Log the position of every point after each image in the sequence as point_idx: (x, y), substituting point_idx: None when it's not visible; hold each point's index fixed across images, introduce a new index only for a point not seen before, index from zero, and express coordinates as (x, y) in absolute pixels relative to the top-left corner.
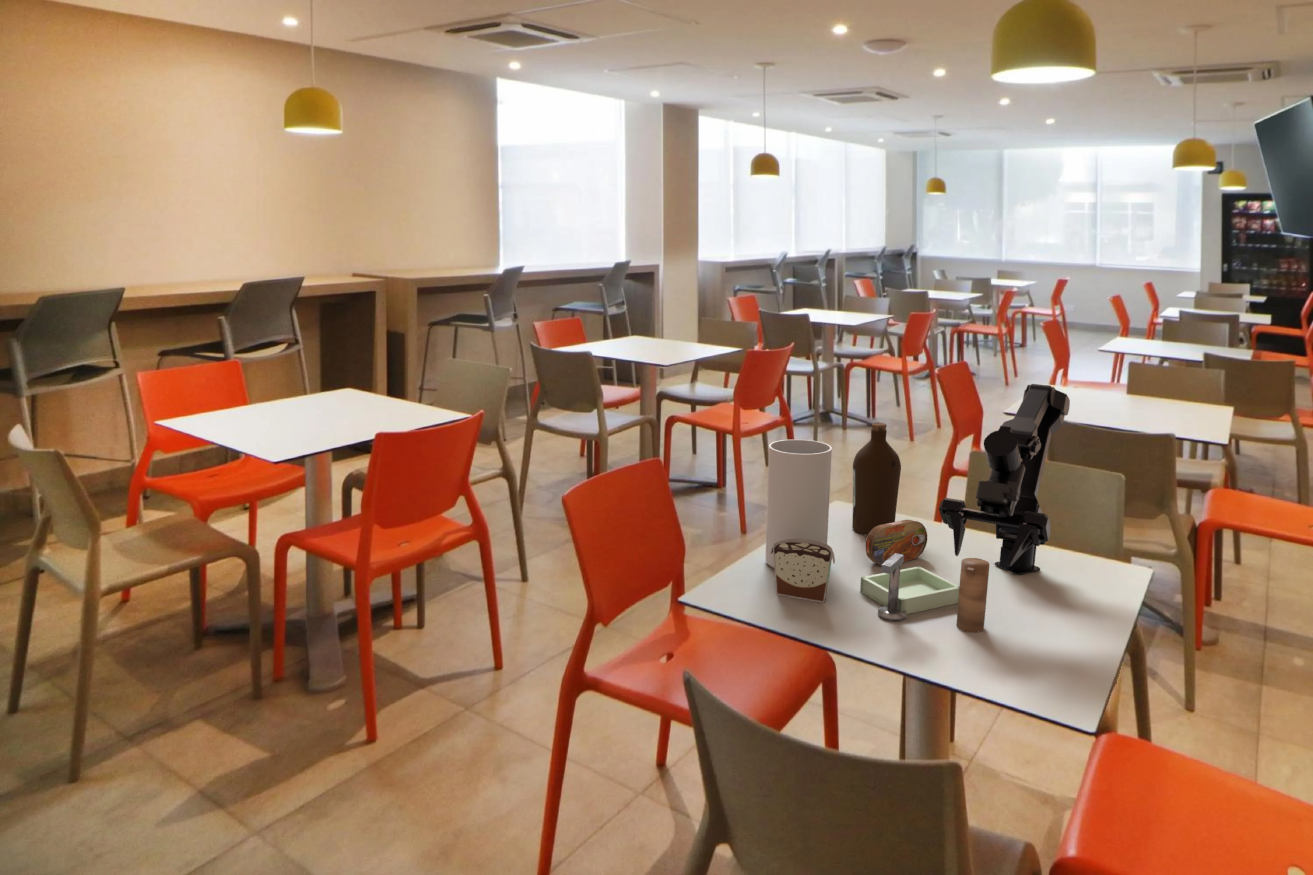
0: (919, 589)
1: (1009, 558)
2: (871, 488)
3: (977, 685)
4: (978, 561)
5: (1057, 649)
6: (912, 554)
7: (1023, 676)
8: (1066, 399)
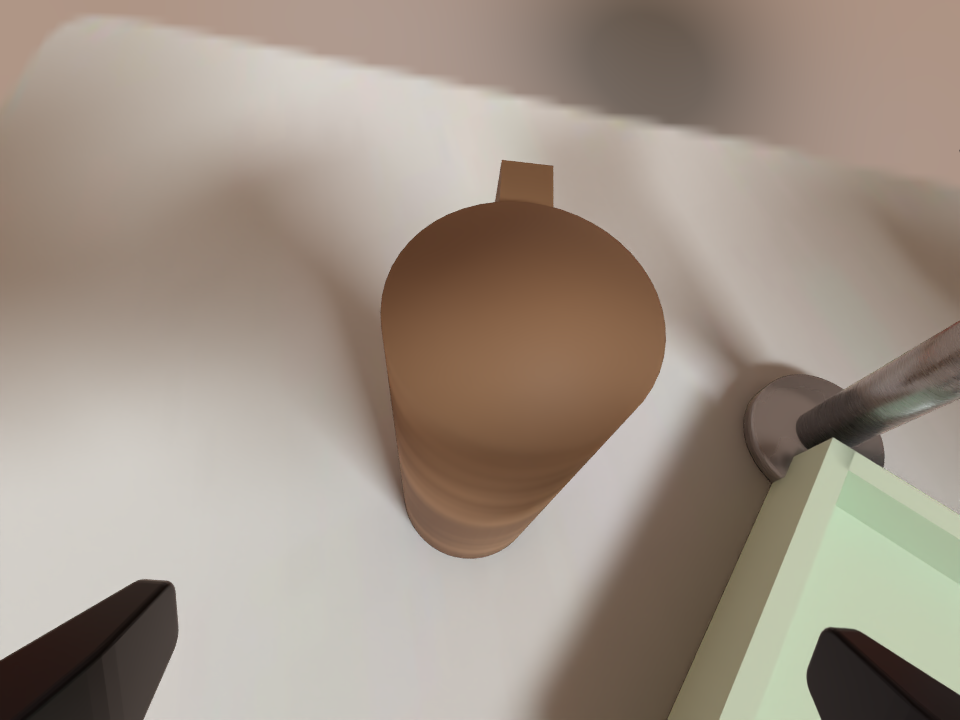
0: None
1: (122, 617)
2: None
3: (365, 82)
4: (505, 354)
5: (52, 431)
6: None
7: (227, 167)
8: None
